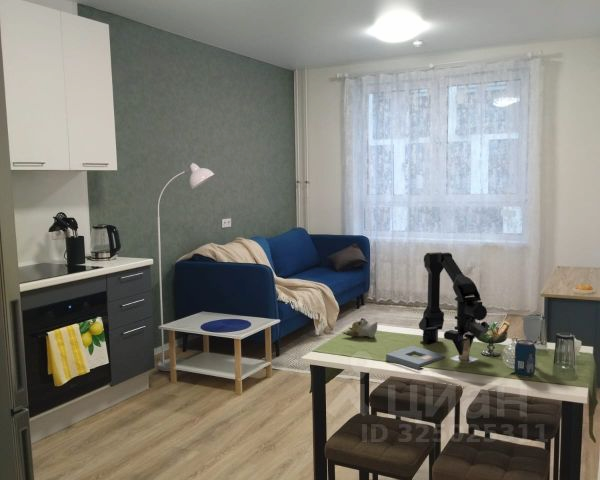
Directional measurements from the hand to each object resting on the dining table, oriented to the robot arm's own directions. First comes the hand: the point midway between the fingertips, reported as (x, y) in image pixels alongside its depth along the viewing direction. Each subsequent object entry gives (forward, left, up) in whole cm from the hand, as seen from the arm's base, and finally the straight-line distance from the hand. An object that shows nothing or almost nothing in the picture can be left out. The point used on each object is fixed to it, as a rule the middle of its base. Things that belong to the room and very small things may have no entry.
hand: (464, 353), depth 218 cm
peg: (0, 0, -2) cm, 2 cm away
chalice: (-17, +18, -4) cm, 25 cm away
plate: (0, 0, -4) cm, 4 cm away
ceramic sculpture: (+3, -51, -4) cm, 52 cm away
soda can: (-5, +22, -4) cm, 23 cm away
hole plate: (+12, -14, -4) cm, 19 cm away
